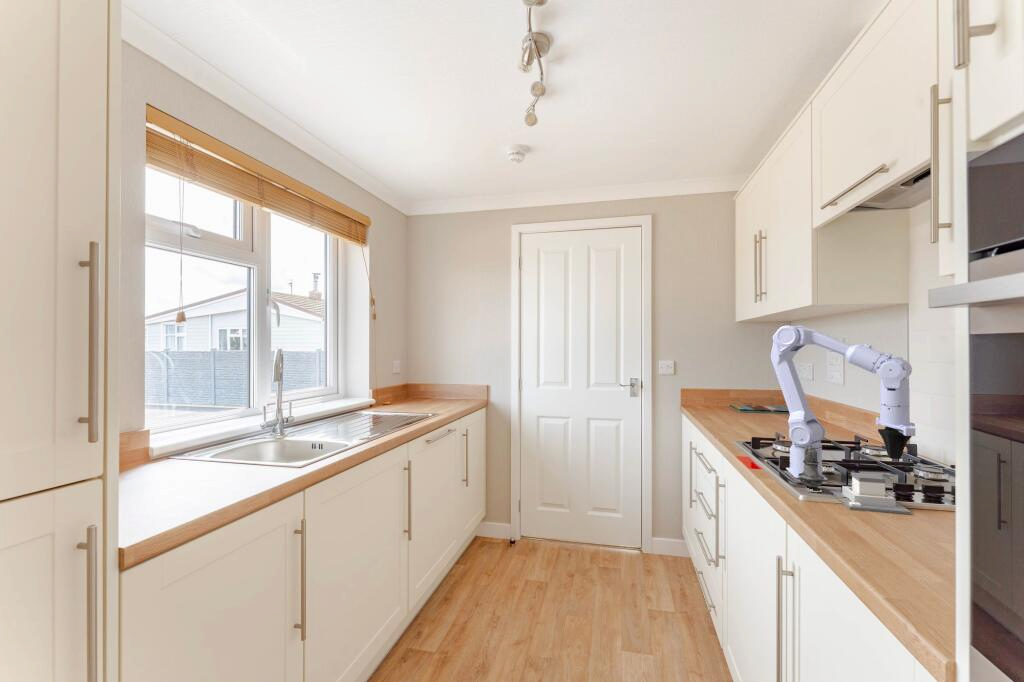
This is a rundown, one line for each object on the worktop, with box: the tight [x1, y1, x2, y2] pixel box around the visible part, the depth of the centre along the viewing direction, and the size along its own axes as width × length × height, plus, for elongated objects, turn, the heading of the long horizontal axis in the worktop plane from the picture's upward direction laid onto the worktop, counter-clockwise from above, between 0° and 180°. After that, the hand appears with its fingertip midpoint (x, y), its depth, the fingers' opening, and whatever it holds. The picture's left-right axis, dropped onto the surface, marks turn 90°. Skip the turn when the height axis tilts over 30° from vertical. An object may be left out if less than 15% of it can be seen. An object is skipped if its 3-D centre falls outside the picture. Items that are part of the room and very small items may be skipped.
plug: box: [851, 472, 886, 497], centre depth 111 cm, size 4×5×6 cm
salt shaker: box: [798, 445, 825, 491], centre depth 120 cm, size 6×6×12 cm
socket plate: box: [829, 485, 912, 516], centre depth 111 cm, size 12×12×3 cm
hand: (894, 458), depth 116 cm, fingers closed
